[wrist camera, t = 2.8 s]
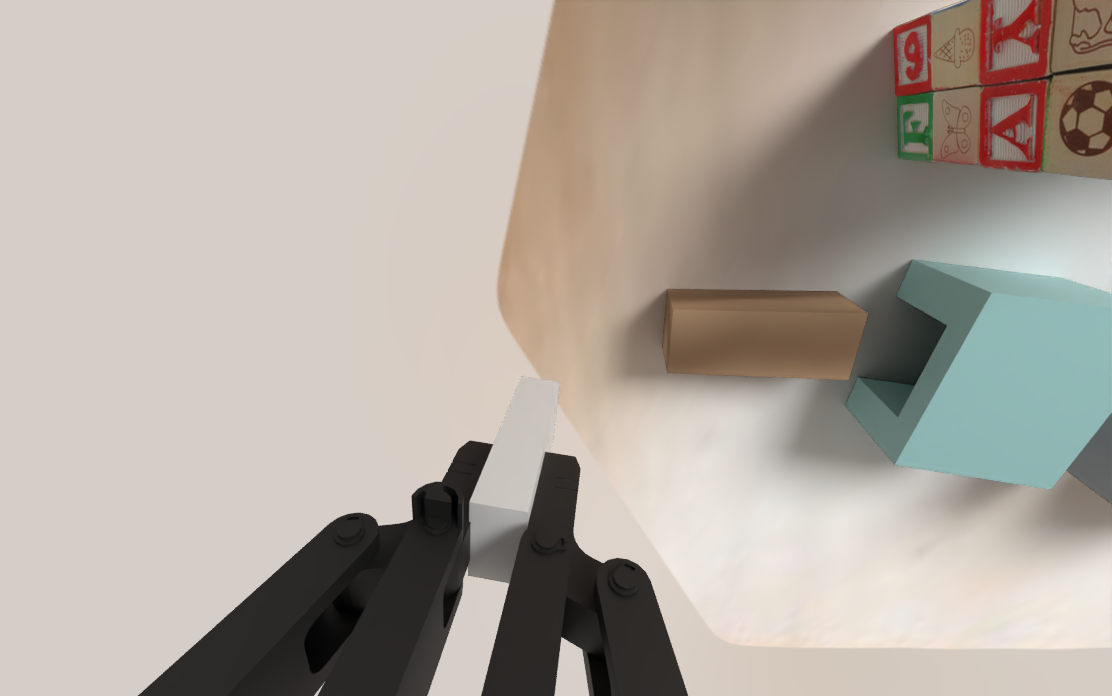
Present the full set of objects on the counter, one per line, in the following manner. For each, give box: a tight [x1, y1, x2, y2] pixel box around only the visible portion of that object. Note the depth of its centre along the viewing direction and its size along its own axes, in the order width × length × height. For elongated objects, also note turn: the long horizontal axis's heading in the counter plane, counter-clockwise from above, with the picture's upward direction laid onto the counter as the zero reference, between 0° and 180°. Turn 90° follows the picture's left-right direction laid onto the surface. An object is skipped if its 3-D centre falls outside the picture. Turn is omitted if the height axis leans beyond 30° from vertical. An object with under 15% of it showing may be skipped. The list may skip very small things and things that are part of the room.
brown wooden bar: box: [662, 289, 868, 380], centre depth 26 cm, size 4×10×4 cm, turn 91°
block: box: [845, 260, 1112, 490], centre depth 24 cm, size 10×8×6 cm
